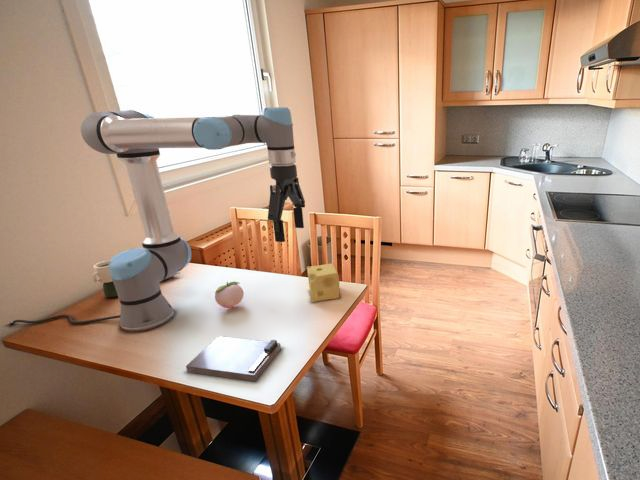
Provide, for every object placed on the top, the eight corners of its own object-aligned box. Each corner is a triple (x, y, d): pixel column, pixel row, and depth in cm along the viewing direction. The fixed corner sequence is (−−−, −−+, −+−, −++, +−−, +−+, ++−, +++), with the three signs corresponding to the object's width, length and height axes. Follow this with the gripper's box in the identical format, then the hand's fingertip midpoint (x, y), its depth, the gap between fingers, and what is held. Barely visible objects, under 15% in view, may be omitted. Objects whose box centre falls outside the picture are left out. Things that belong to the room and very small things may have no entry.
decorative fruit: (231, 316, 126) (225, 289, 122) (213, 311, 130) (207, 285, 126) (251, 303, 134) (247, 278, 130) (234, 299, 137) (229, 274, 134)
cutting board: (187, 372, 100) (184, 362, 99) (219, 341, 113) (217, 332, 112) (255, 381, 96) (253, 371, 95) (281, 348, 109) (279, 339, 107)
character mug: (122, 287, 150) (112, 257, 145) (135, 290, 147) (125, 259, 142) (94, 300, 140) (83, 268, 135) (107, 303, 138) (96, 270, 133)
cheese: (311, 303, 133) (308, 277, 129) (308, 289, 143) (305, 265, 139) (340, 298, 136) (338, 273, 132) (336, 285, 145) (334, 261, 141)
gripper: (274, 171, 97) (283, 248, 105) (311, 158, 120) (316, 223, 128) (247, 171, 99) (258, 247, 107) (289, 158, 122) (296, 222, 129)
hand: (290, 234), depth 117 cm, fingers open, 13 cm apart
